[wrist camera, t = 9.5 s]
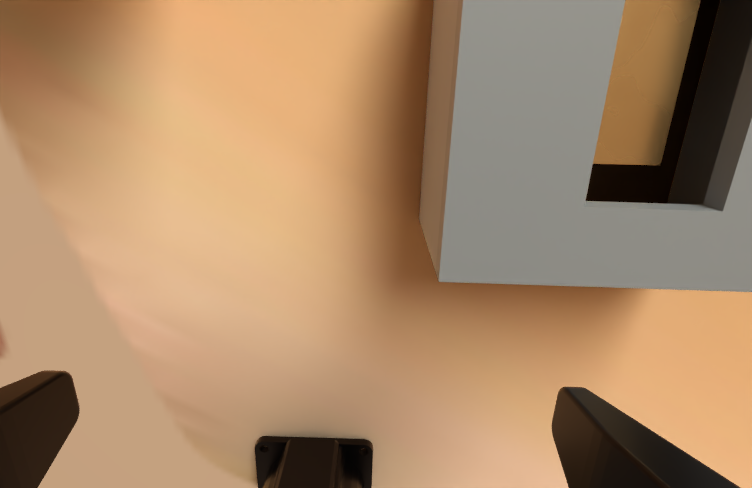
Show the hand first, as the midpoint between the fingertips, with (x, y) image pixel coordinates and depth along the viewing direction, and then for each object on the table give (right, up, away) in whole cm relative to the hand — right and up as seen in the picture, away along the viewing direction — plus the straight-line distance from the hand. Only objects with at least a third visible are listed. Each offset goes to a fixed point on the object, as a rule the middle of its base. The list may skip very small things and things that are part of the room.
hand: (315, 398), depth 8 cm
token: (+9, +9, +10) cm, 17 cm away
